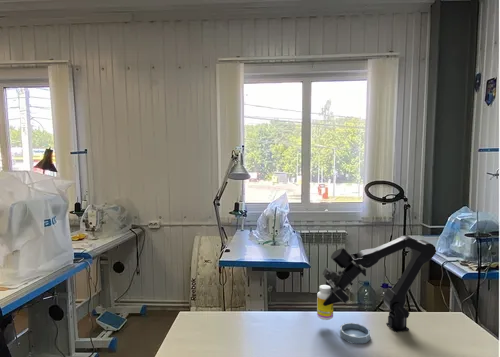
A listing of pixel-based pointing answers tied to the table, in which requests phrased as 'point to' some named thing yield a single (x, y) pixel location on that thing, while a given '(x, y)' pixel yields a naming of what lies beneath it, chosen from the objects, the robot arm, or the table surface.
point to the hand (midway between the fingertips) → (321, 301)
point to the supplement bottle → (322, 295)
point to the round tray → (355, 333)
